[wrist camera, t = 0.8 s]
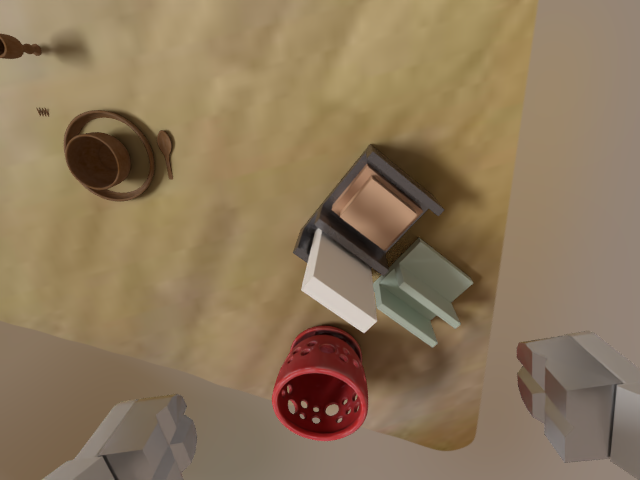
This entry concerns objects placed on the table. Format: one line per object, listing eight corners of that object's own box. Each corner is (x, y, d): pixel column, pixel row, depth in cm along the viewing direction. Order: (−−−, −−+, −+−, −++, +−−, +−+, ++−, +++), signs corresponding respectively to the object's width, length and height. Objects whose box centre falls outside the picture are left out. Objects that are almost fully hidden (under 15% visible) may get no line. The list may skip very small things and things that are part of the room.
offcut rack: (370, 143, 44) (374, 154, 37) (434, 196, 46) (448, 215, 39) (300, 229, 50) (292, 252, 43) (360, 273, 52) (362, 302, 45)
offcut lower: (367, 163, 44) (367, 166, 42) (420, 206, 45) (423, 211, 44) (332, 205, 46) (331, 209, 44) (384, 244, 48) (385, 250, 46)
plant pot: (380, 336, 56) (387, 397, 45) (341, 388, 61) (339, 454, 50) (306, 302, 55) (296, 356, 44) (273, 358, 60) (256, 420, 49)
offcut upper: (371, 174, 42) (372, 178, 40) (414, 209, 44) (417, 214, 42) (340, 211, 44) (339, 217, 43) (382, 243, 46) (383, 250, 44)
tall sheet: (323, 221, 47) (313, 276, 34) (369, 255, 49) (377, 321, 35) (315, 231, 48) (301, 290, 34) (360, 264, 49) (364, 333, 36)
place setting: (65, 194, 51) (31, 207, 46) (20, 36, 43) (-27, 29, 38) (182, 200, 50) (162, 214, 45) (159, 39, 42) (131, 32, 36)
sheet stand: (418, 237, 49) (428, 258, 43) (470, 277, 51) (486, 303, 45) (371, 285, 52) (374, 310, 46) (421, 321, 54) (429, 349, 48)
